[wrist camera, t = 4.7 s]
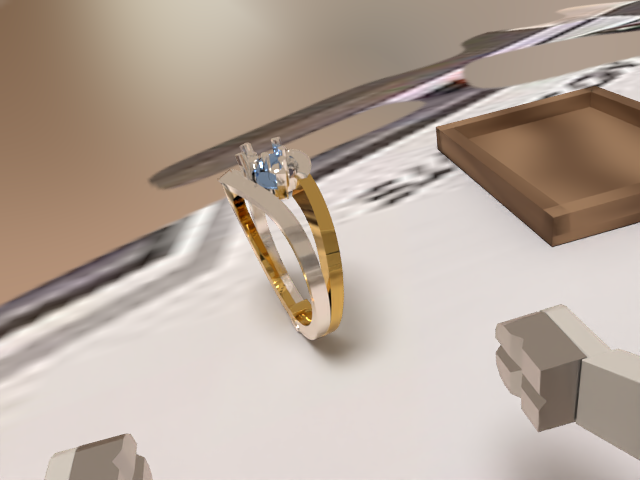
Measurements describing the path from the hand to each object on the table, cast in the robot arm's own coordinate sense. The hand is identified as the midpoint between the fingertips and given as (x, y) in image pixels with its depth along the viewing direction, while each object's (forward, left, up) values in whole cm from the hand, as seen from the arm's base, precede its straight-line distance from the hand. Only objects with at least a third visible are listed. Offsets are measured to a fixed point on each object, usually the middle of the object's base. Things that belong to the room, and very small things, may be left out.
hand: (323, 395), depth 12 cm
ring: (0, -9, -6) cm, 11 cm away
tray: (-17, -16, -6) cm, 24 cm away
